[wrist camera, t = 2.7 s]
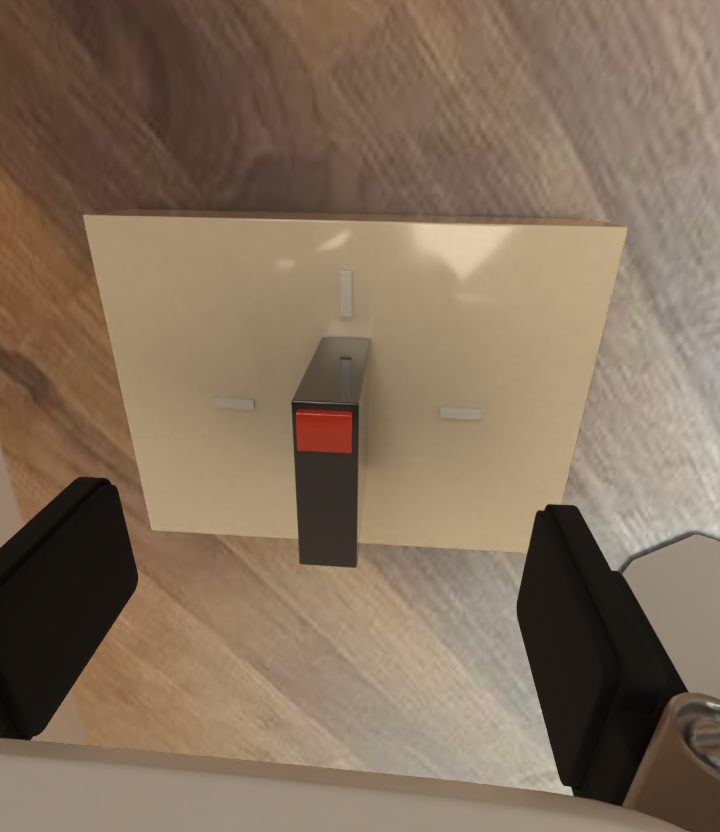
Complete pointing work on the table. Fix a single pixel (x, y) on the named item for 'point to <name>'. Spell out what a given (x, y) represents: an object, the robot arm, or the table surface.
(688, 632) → the flask
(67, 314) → the table surface
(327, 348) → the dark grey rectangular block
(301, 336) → the beige lever switch base
